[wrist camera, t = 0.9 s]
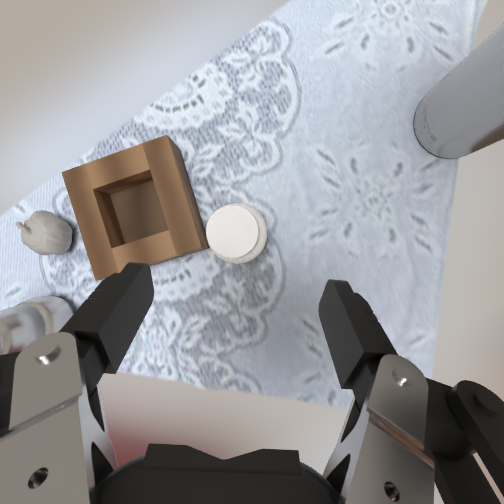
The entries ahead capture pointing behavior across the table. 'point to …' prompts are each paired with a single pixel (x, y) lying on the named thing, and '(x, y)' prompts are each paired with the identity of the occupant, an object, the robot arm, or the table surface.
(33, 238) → the garlic
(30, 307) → the plastic bottle
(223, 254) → the pill bottle
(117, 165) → the wooden square tray
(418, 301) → the table surface
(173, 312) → the table surface
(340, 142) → the table surface
